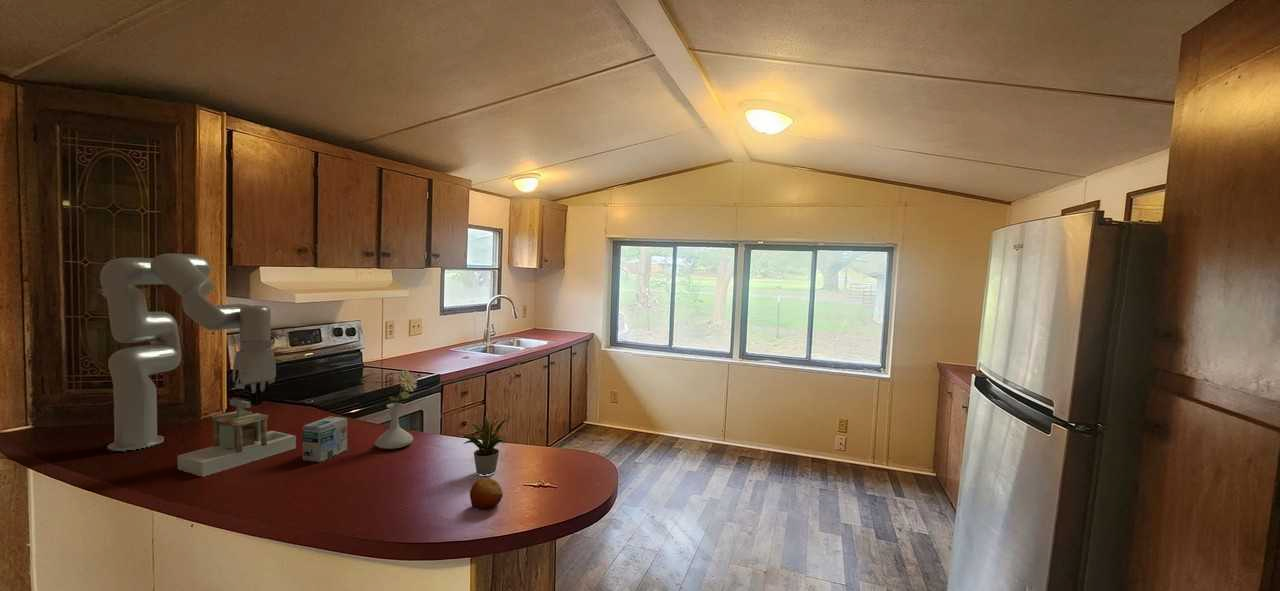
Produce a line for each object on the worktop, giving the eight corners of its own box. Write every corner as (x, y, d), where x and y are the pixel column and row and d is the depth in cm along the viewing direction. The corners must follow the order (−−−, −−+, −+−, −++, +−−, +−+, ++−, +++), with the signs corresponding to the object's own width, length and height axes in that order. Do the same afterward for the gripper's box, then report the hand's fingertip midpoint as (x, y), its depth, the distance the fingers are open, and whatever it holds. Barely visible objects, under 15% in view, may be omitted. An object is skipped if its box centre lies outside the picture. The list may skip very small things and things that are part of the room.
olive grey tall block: (218, 445, 146) (217, 402, 146) (245, 437, 153) (245, 396, 152) (234, 449, 143) (234, 405, 143) (262, 441, 150) (261, 399, 150)
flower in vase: (388, 454, 154) (389, 376, 153) (367, 447, 160) (367, 372, 159) (425, 443, 166) (425, 370, 165) (404, 436, 171) (404, 366, 170)
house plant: (493, 458, 154) (494, 407, 153) (523, 469, 146) (524, 415, 145) (452, 472, 142) (453, 417, 141) (482, 485, 134) (483, 426, 133)
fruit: (466, 494, 125) (483, 468, 125) (493, 509, 126) (509, 483, 126) (457, 509, 117) (475, 481, 117) (485, 525, 118) (503, 497, 118)
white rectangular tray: (177, 469, 139) (177, 455, 139) (271, 442, 162) (271, 430, 162) (202, 477, 134) (202, 462, 134) (295, 448, 158) (295, 435, 157)
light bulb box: (320, 462, 147) (320, 427, 146) (301, 460, 148) (301, 425, 147) (348, 450, 157) (348, 417, 157) (330, 448, 158) (330, 415, 158)
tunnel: (211, 445, 147) (211, 416, 146) (242, 438, 154) (241, 409, 154) (238, 452, 142) (238, 422, 142) (268, 444, 149) (268, 415, 149)
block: (225, 446, 147) (225, 430, 147) (244, 441, 151) (244, 425, 151) (236, 449, 145) (236, 432, 145) (254, 443, 150) (254, 427, 149)
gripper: (273, 342, 159) (273, 397, 160) (219, 347, 145) (220, 408, 146) (288, 343, 156) (288, 400, 157) (235, 349, 143) (235, 412, 143)
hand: (255, 404), depth 152 cm, fingers closed
